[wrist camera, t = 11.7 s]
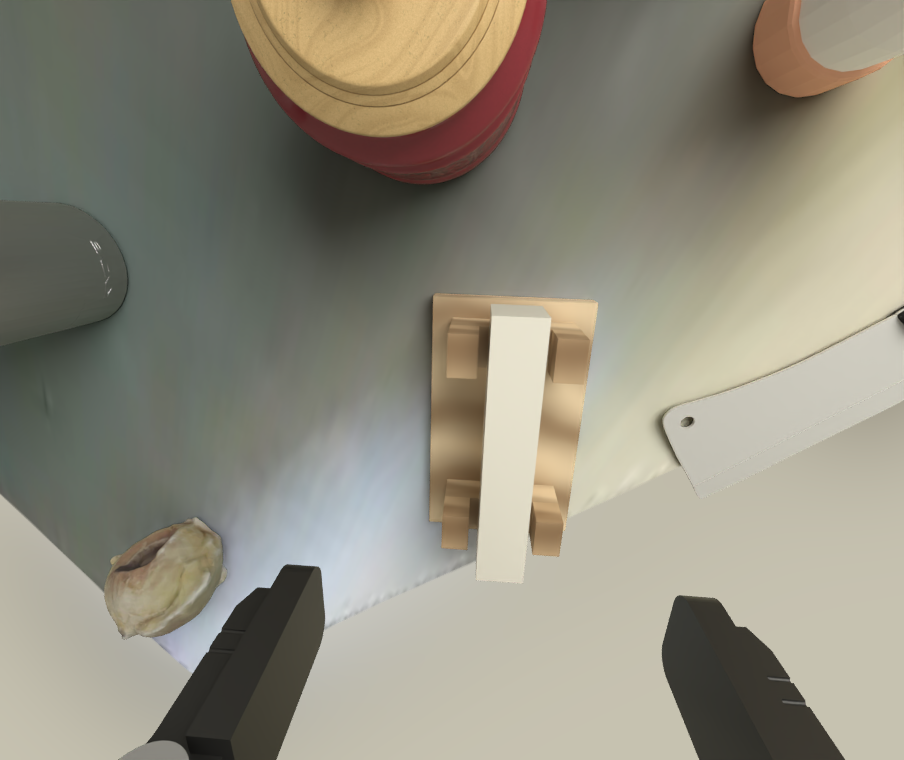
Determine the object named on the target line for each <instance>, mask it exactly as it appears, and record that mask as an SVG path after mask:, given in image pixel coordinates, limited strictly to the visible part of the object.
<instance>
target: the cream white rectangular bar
mask: <svg viewBox="0 0 904 760" xmlns="http://www.w3.org/2000/svg"><path fill="white" fill-rule="evenodd" d="M550 327H551V317H550V316H549V314H548V313H547V311H546V310H545V309H544V307H543V306H531V305H506V304H491V306H490V323H489V340H488V357H487V374H486V391H485V408H484V424H483V441H482V458H481V475H480V492H479V509H478V526H477V543H476V580H480V581H493V582H508V583H521V584H523V577H524V568H525V558H526V549H527V539H528V531H529V522H530V512H531V503H532V494H533V485H534V475H535V466H536V457H537V447H538V438H539V429H540V420H541V410H542V401H543V392H544V383H545V373H546V364H547V355H548V345H549V336H550Z"/></svg>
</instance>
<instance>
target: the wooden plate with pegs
mask: <svg viewBox="0 0 904 760" xmlns="http://www.w3.org/2000/svg"><path fill="white" fill-rule="evenodd" d="M491 304H506V305H531V306H543V307H544V309H545V310H546V311H547V313H548V314H549V316H550V317H551V327H550V336H549V345H548V355H547V364H546V373H545V383H544V392H543V401H542V410H541V420H540V429H539V438H538V447H537V457H536V466H535V475H534V485H533V494H532V503H531V512H530V522H529V531H528V533H529V534H530V541H531V546H532V554H533V555H544V556H559V553H560V546H561V539H562V533H563V531H565V527H566V520H567V513H568V507H569V500H570V493H571V486H572V479H573V472H574V466H575V459H576V452H577V445H578V438H579V432H580V425H581V418H582V411H583V404H584V397H585V391H586V384H587V377H588V370H589V363H590V356H591V350H592V343H593V336H594V329H595V322H596V316H597V309H598V303H597V302H595V301H594V300H582V299H558V298H535V297H511V296H488V295H465V294H441V293H435V294H434V296H433V333H432V391H431V448H430V506H429V521H433V522H442V545H441V548H447V549H461V550H467V546H468V529H477V526H478V509H479V492H480V475H481V458H482V441H483V424H484V408H485V391H486V374H487V357H488V340H489V323H490V306H491Z"/></svg>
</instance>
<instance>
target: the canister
mask: <svg viewBox="0 0 904 760" xmlns="http://www.w3.org/2000/svg"><path fill="white" fill-rule="evenodd" d="M231 2H232V5H233V8H234V11H235V14H236V17H237V20H238V22H239V25H240V27H241V30H242V32H243V34H244V37H245V40H246V43H247V46H248V49H249V51H250V54H251V56H252V59H253V61H254V63H255V66H256V68H257V70H258V72H259V74H260V76H261V78H262V79H263V81H264V83H265V85H266V86H267V88H268V90H269V91H270V93H271V94H272V96H273V97H274V99H275V100H276V101H277V103H278V104H279V105H280V107H281V108H282V109H283V110H284V111H285V113H286V114H287V115H288V116H289V117H290V118H291V119H292V120H293V121H294V122H295V123H296V124H297V126H299V127H300V128H301V129H302V130H303V131H304V132H305V133H306V134H308V135H309V136H310V137H312V138H313V139H314V140H316V141H317V142H318V143H320V144H321V145H323V146H325V147H326V148H328V149H330V150H332V151H333V152H335V153H337V154H339V155H342V156H344V157H346V158H349V159H351V160H352V161H354V162H356V163H358V164H361V165H363V166H365V167H368V168H371V169H373V170H374V171H376V172H378V173H380V174H382V175H384V176H386V177H389V178H391V179H394V180H397V181H401V182H405V183H410V184H436V183H441V182H445V181H449V180H452V179H454V178H457V177H459V176H461V175H464V174H465V173H467V172H469V171H471V170H472V169H474V168H475V167H476V166H478V165H479V164H480V163H482V162H483V161H484V160H485V159H486V158H487V157H488V156H489V155H490V154H491V153H492V152H493V151H494V150H495V149H496V147H497V146H498V145H499V143H500V142H501V141H502V139H503V138H504V136H505V135H506V133H507V131H508V129H509V128H510V126H511V123H512V121H513V119H514V117H515V114H516V112H517V109H518V106H519V103H520V100H521V96H522V92H523V88H524V84H525V81H526V79H527V76H528V73H529V70H530V67H531V63H532V60H533V57H534V54H535V51H536V48H537V45H538V42H539V39H540V35H541V31H542V27H543V22H544V17H545V12H546V4H547V0H231Z"/></svg>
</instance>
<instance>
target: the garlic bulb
mask: <svg viewBox="0 0 904 760" xmlns="http://www.w3.org/2000/svg"><path fill="white" fill-rule="evenodd" d="M110 562H111V564H112V565H113V566H112V568H111V570H110V572H109V574H108V576H107V580H106V584H105V588H104V590H105V596H104V597H105V602H106V605H107V608H108V611H109V613H110V615H111V616H112V618H113V620H114V621H115V623H116V625H117V626H118V631H119V632H120V633H121V635H122V639H124V640H125V639H127V638H130V637H132V636H135V635H138V634H140V635H141V636H143V637H157V636H162V635H165V634H168V633H170V632H172V631H174V630H176V629H177V628H179V627H181V626H183V625H184V624H186V623H187V622H189V621H190V620H192V619H193V618H195V617H196V616H197V615H198V614H199V613H200V612H201V611H202V609H203V608H204V607H205V606H206V604H207V603H208V601H209V600H210V598H211V597H212V594H213V593H214V591H215V589H216V587H218V586H219V585H220V584H221V583H222V582H223V581H224V580H225V578H226V576H227V569H226V568H225V567H224V566H223V565H222V563H223V552H222V543H221V537H220V536H219V535H217V534H216V533H215V532H213V531H211V530H210V529H209V528H208V527H207V526H206V525H205V524H204V523H203V522H202V521H200V520H199V519H198V518H196V517H195V518H193V519H187V520H186V521H185V522H183V523H181V524H174V525H172V526H170V527H168V528H164V529H161V530H158V531H156V532H154V533H152V534H150V535H149V536H147V537H146V538H144V539H142V540H140V541H138V542H137V543H135V544H134V545H132V546H131V547H130V548H129V549H128V550H127V551H126V552H125V553H124V554H120V555H118V556H114V557H113V558H112V559H111V561H110Z"/></svg>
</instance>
